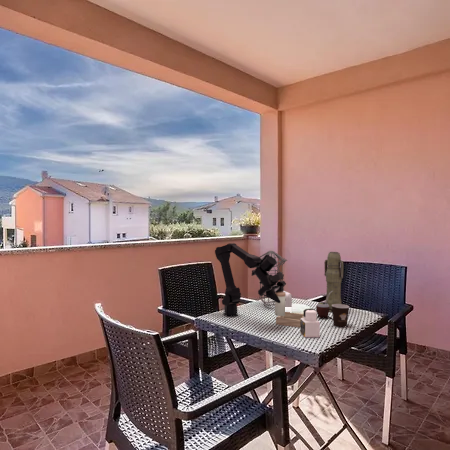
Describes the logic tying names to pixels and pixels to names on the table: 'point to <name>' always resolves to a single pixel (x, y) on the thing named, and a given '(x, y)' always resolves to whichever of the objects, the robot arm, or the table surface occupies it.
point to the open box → (289, 319)
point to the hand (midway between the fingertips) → (282, 301)
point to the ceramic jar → (280, 304)
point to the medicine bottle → (310, 324)
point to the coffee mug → (339, 314)
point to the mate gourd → (323, 309)
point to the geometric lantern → (273, 273)
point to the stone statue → (334, 278)
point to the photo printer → (288, 299)
